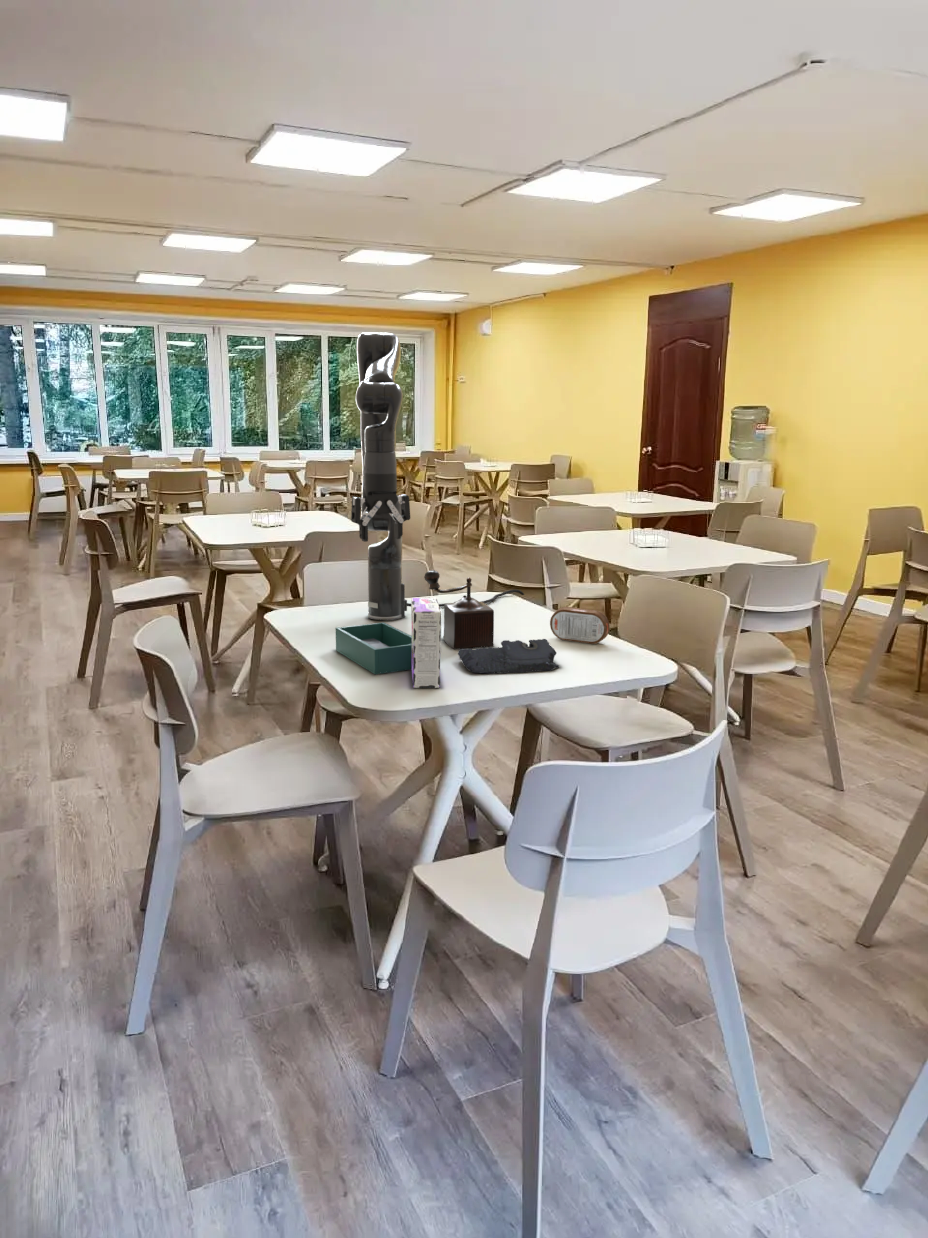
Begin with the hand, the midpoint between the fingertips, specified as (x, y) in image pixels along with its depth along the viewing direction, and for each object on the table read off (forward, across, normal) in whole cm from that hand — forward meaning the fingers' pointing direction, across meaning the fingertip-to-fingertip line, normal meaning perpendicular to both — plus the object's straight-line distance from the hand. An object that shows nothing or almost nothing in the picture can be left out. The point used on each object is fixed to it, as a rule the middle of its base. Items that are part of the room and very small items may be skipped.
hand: (381, 539), depth 210 cm
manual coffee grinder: (+26, +17, -7) cm, 32 cm away
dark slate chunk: (+26, +18, -28) cm, 42 cm away
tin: (+26, +45, -20) cm, 56 cm away
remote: (+25, -6, -11) cm, 28 cm away
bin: (+26, -6, -11) cm, 29 cm away
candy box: (+25, -4, -30) cm, 40 cm away
